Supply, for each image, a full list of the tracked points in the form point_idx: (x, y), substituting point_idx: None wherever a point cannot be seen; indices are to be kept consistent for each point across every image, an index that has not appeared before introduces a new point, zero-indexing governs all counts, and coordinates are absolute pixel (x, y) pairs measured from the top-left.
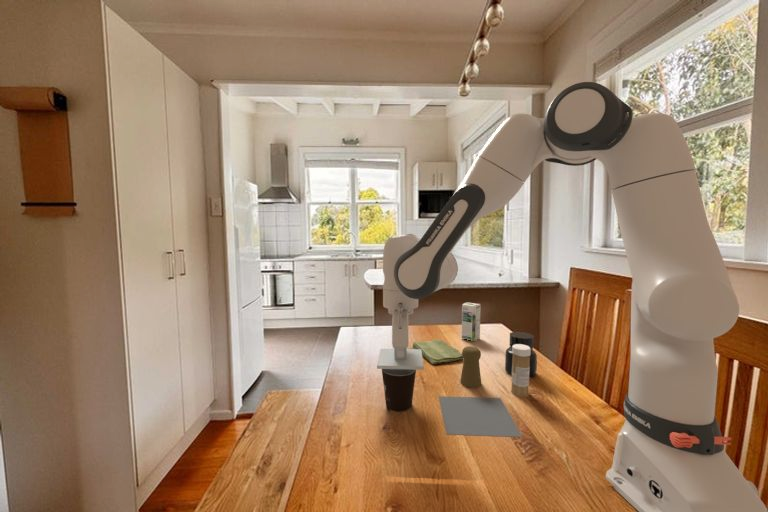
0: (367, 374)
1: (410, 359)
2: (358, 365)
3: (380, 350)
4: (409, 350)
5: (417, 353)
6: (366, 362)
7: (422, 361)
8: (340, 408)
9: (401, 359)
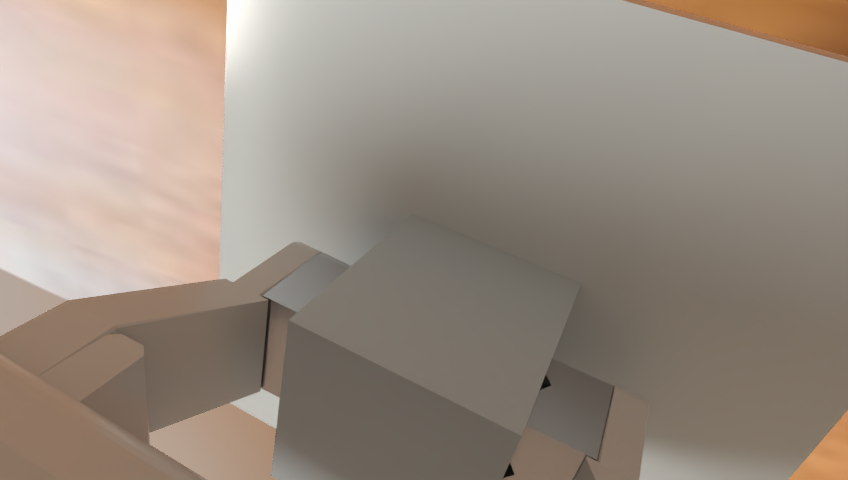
0: (214, 217)
1: (608, 232)
2: (123, 231)
3: (259, 415)
4: (268, 108)
5: (391, 22)
6: (87, 179)
7: (785, 55)
8: None
9: (561, 344)
